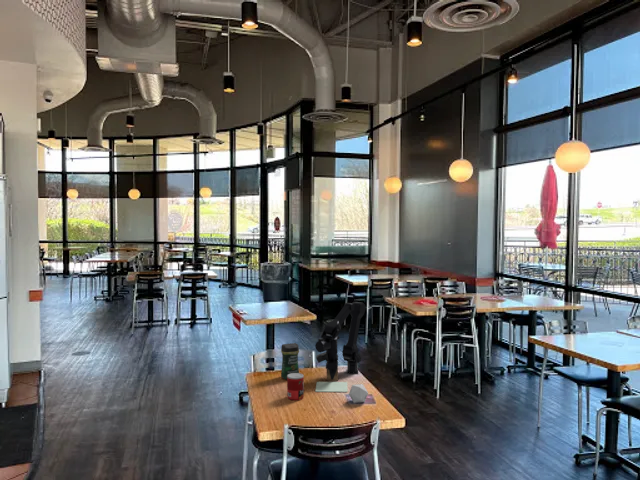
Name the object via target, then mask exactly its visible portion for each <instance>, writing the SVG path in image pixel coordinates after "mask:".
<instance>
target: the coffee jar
mask: <svg viewBox="0 0 640 480" xmlns="http://www.w3.org/2000/svg"><path fill="white" fill-rule="evenodd" d="M280 353H281V355H282V357H281V358H282V360H281V361H282V362H281V371H280V373H281V374H280V376H281V378H282V379H284V380H287V375H288V374H291V373H300V369H299V367H300V366H299V353H300V348H299V344H298V343H296V342H293V343H292V342H291V343H284V344H282V345H281V350H280Z"/></svg>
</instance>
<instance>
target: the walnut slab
mask: <svg viewBox="0 0 640 480" xmlns="http://www.w3.org/2000/svg"><path fill="white" fill-rule="evenodd" d="M326 382H339V368H338V369H337V371H336V373H335V376H334V379H331V376H330V372H329V370H328V369H326Z"/></svg>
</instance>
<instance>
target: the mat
mask: <svg viewBox="0 0 640 480" xmlns="http://www.w3.org/2000/svg"><path fill="white" fill-rule="evenodd" d="M348 388H349V387H348V381H316V386H315V391H314V392H315V393H349V392H348Z"/></svg>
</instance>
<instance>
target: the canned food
mask: <svg viewBox="0 0 640 480" xmlns="http://www.w3.org/2000/svg"><path fill="white" fill-rule="evenodd" d="M304 376H305V375H304V374H303V373H300V372H299V373H291V374H288V375H287V379H286V383H287V384H286V385H287V386H286V387H287V390H286V391H287V392H286V393H287V396H286V397H287V399H288V400H290V401H294V402H295V401H296V402H297V401H301V400H303V399H304V396H305V394H304V393H305V389H304V388H305V387H304V386H305V381H304V380H305V379H304V378H305V377H304Z"/></svg>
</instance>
